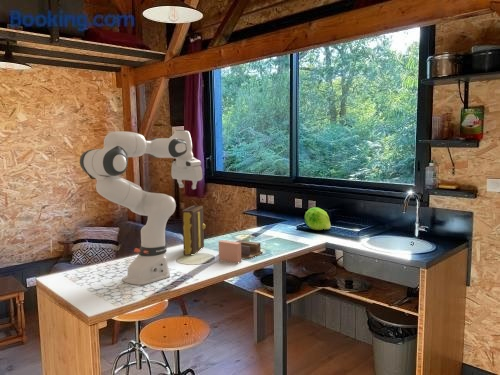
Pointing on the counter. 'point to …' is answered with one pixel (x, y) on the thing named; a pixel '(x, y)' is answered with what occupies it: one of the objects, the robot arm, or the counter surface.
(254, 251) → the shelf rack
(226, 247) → the boxed book
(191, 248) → the book
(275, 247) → the counter surface
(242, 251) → the bookend
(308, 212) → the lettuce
